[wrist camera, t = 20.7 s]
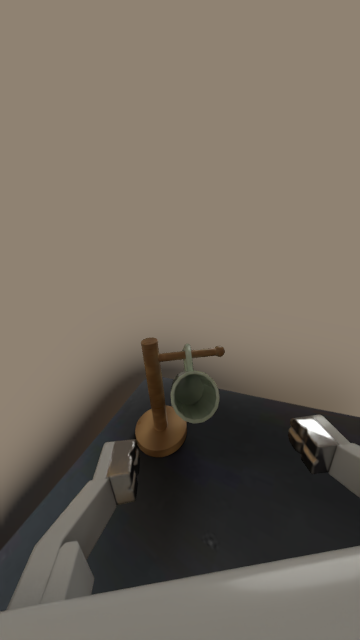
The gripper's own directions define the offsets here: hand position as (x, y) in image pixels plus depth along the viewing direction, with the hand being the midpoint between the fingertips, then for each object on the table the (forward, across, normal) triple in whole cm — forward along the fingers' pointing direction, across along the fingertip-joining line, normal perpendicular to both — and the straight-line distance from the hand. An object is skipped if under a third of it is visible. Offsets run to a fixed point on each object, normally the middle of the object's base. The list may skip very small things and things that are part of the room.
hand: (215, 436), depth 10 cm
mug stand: (+18, +1, +21) cm, 27 cm away
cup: (+22, -1, +13) cm, 25 cm away
